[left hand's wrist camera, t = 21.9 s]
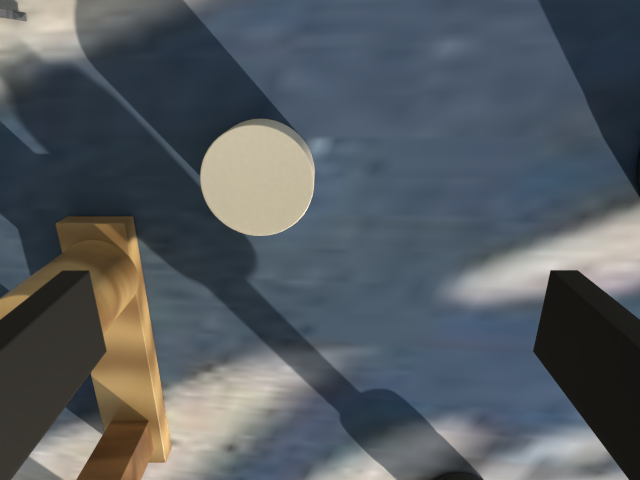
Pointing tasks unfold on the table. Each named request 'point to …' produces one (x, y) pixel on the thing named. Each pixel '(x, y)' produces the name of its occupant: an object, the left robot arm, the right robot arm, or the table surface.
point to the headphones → (459, 477)
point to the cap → (258, 177)
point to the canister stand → (113, 343)
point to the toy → (12, 14)
